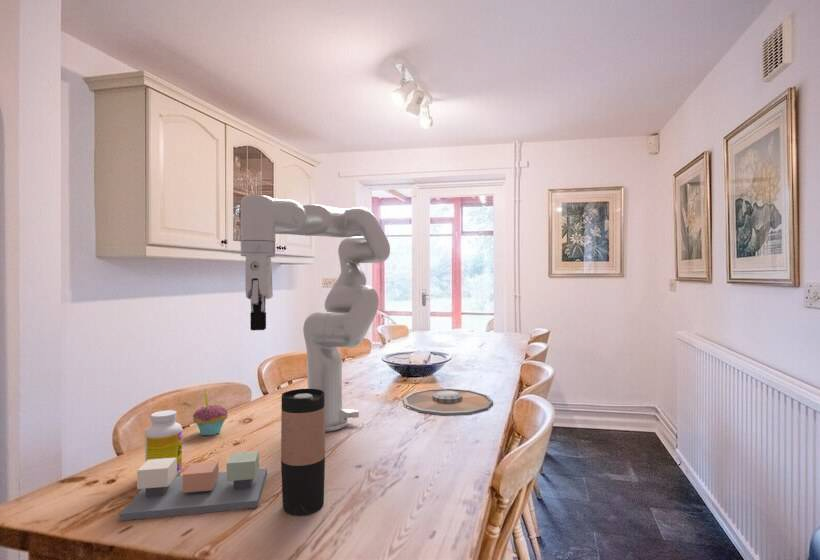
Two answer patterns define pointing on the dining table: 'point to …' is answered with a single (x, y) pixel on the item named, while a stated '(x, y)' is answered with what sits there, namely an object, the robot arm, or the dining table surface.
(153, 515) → the board
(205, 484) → the button terracotta
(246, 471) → the button sage
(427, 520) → the dining table surface
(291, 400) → the travel mug
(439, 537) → the dining table surface
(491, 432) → the dining table surface
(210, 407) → the cupcake
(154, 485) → the button cream
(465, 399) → the shield
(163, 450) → the supplement bottle
